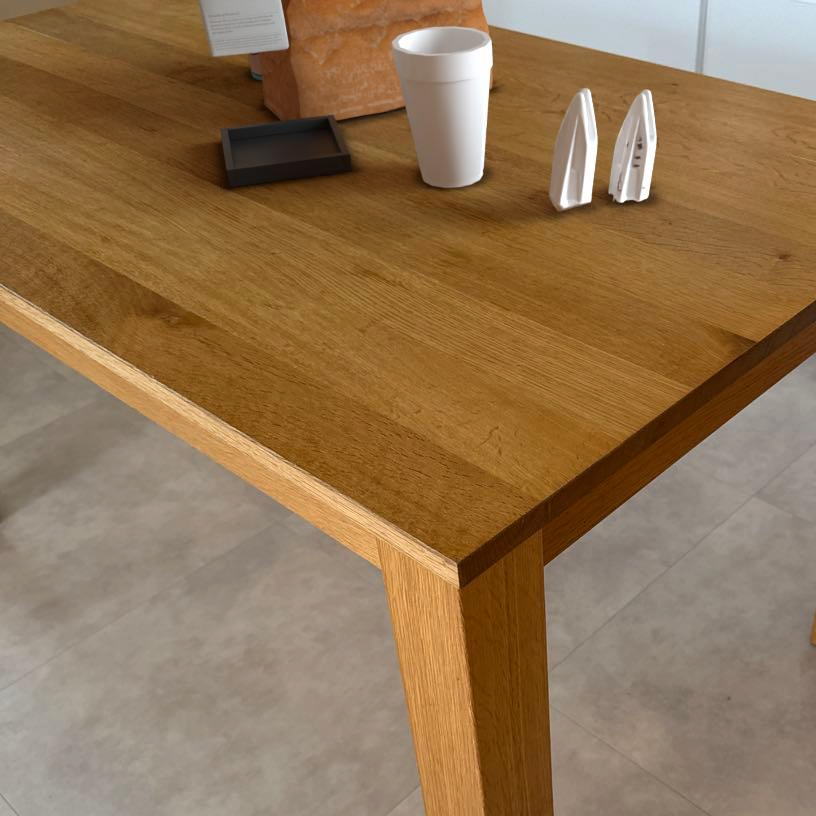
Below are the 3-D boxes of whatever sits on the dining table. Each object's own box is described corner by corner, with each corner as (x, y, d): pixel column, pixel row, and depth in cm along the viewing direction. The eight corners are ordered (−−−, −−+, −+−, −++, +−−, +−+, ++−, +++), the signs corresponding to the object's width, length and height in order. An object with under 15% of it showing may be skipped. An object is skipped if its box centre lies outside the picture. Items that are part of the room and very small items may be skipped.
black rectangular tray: (230, 187, 103) (226, 170, 102) (223, 144, 112) (219, 128, 111) (352, 171, 106) (350, 154, 105) (336, 130, 115) (333, 114, 114)
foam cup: (422, 155, 109) (409, 24, 100) (506, 160, 107) (500, 28, 98) (395, 191, 102) (379, 53, 93) (484, 196, 100) (476, 57, 91)
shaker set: (556, 226, 95) (555, 105, 87) (535, 210, 97) (532, 91, 90) (663, 198, 99) (670, 80, 91) (639, 184, 101) (644, 68, 94)
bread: (257, 101, 123) (229, -38, 113) (455, 63, 132) (445, -69, 122) (295, 136, 114) (268, -12, 104) (504, 92, 123) (498, -48, 113)
